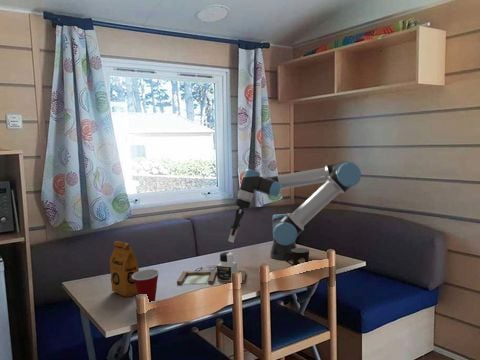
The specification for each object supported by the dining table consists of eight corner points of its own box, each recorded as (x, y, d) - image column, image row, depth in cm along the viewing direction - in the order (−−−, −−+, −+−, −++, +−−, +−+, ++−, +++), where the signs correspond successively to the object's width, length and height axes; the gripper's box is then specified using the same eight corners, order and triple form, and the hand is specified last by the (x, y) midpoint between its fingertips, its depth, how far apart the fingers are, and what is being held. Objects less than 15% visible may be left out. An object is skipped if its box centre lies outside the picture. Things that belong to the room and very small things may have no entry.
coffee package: (122, 299, 170) (119, 247, 168) (109, 292, 179) (105, 242, 177) (144, 293, 177) (141, 242, 175) (129, 286, 186) (126, 238, 184)
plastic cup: (127, 303, 166) (126, 273, 165) (150, 295, 174) (148, 267, 173) (143, 309, 159) (141, 279, 157) (166, 301, 166) (164, 272, 165)
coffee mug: (311, 268, 201) (311, 248, 200) (307, 274, 193) (306, 253, 192) (288, 266, 206) (288, 246, 205) (283, 271, 198) (282, 251, 197)
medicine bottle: (217, 280, 189) (216, 254, 188) (223, 275, 196) (222, 250, 195) (231, 281, 187) (230, 255, 186) (237, 276, 193) (236, 251, 192)
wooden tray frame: (245, 273, 198) (245, 270, 198) (244, 283, 184) (244, 280, 184) (183, 274, 200) (183, 271, 200) (177, 284, 186) (176, 281, 185)
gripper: (238, 196, 221) (226, 234, 222) (235, 198, 196) (222, 241, 197) (251, 200, 221) (239, 238, 221) (250, 203, 196) (237, 245, 196)
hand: (231, 239), depth 209 cm, fingers open, 13 cm apart
